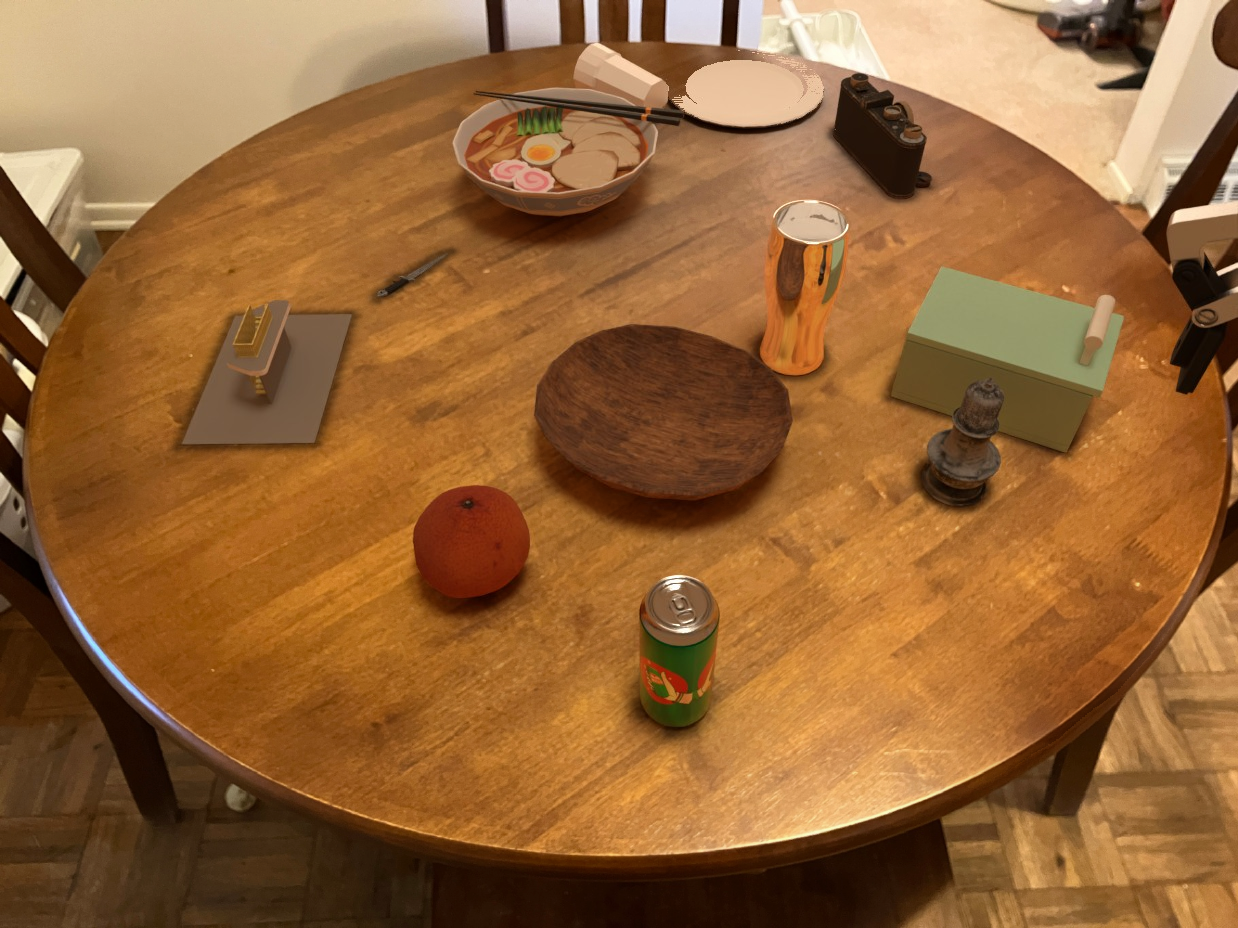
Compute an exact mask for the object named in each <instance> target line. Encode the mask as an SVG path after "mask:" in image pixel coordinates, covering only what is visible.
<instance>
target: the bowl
mask: <svg viewBox="0 0 1238 928" xmlns="http://www.w3.org/2000/svg"><path fill="white" fill-rule="evenodd" d="M789 393H790V392H789V389H788V388H787V386H786V385H785V384H784V383H783V381H782V380H781V378H780V377H779V376H778V374H776V372H775V371H774V370H772V369H771V368H770V367H769V366H767V365H766V364H765V363H764V362H763V361H762V360H761V359H759V358H757V356H755V355H753V354H752V353H750V352H749V351H748V350H745V349H744V348H740V347H738V346H737V345H735V344H731V343H729V342H727V341H724V340H722V339H719V338H717V337H715V336H712V335H708V334H705V333H701V332H697V331H694V330H690V329H685V328H682V327H679V326H671V325H655V324H641V323H640V324H639V323H629V324H625V325H621V326H616V327H611V328H607V329H601V330H598V331H597V332H595V333H593V334H592V333H591V334H590V335H588V336H586V337H584V338H581V339H580V340H577V341H575V342H574V343H572V344H571V345H570V346H569V347H568V348H567V349H565V351H563V352H562V353H561V354H559V356H558V357H556V358H555V359H554V360H553V361H552V362H551V363H550V365H548V368H547V369H546V370H545V372H544V374H543V375H542V377H541V379H540V380H539V382H538V383H537V384H536V389H535V400H534V401H535V402H534V412H533V416H534V419H535V420H536V422H537V424H538V426H539V428H540V429H541V431H542V433H543V435H544V438H545V439H546V441H548V442H549V444H550V445H552V446H553V447H554V448H555V449H556V451H557V452H558V453H560V455H562V457H564V459H565V460H566V461H568V462H569V463H570V464H571V465H572V467H574V468H575V470H577V471H580V472H582V473H583V474H586V475H587V476H589V477H591V478H593V479H594V480H596V481H598V482H600V483H602V484H604V485H605V486H608V487H609V488H611V489H615V490H617V491H618V490H619V491H622V492H626V493H630V494H634V495H637V496H640V497H644V498H651V499H667V500H683V501H698V500H702V499H706V498H709V497H713V496H717V495H721V494H725V493H728V492H732V491H735V490H737V489H738V488H740V487H741V486H743V485H745V484H747V482H749V481H751V480H752V479H753V478H755V477H756V476H758V475H760V474H761V473H762V472H763V471H765V469H766V468H767V467H768V466H769V464H770V463H772V461H773V460H774V459H775V458H776V456H778V455H779V453H780V452H781V451H782V450H783V449H784V446H785V443H786V441H787V438H788V436H789V433H790V430H791V428H792V424H793V421H794V419H793V413H792V408H791V399H790V394H789Z"/></svg>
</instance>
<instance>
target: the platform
mask: <svg viewBox="0 0 1238 928" xmlns="http://www.w3.org/2000/svg"><path fill="white" fill-rule="evenodd" d="M290 311H291V304H290V301H289V300H287V299H279V300H278V299H276V300H271V301H270V302H267V303H264V304H262V305H260V306H258V307H256V308H252V306H251V304H248V306H247V308H246V311H245V312H244V314H243V315H234V317H233V320H232V323H231V324H230V327H229V330H228V332H227V334H226V337H225V339H224V342H223V343H222V346H221V349H220V351H219V353H218V355H217V358H216V361H215V363H214V365H213V368H212V370H211V372H210V375H209V377H208V380H207V382H206V385H205V387H204V389H203V392H202V394H201V396H200V399H199V401H198V404H197V406H196V408H195V411H194V413H193V416H192V417H191V420H190V422H189V425H188V428H187V429H186V430H187V431H186V432H185V435H184V437H183V440H182V442H181V445H254V444H255V445H256V444H257V445H259V444H265V445H267V444H315V443H316V440H317V436H318V432H319V429H320V426H321V422H322V420H323V416H324V413H325V408H326V405H327V401H328V398H329V396H330V392H331V389H332V384H333V381H334V378H335V374H336V371H337V368H338V364H339V360H340V357H341V354H342V351H343V348H344V343H345V340H346V337H347V333H348V331H349V326H350V323H351V319H352V317H353V313H334V314H333V313H332V314H330V313H329V314H327V313H326V314H323V313H322V314H289V313H290Z"/></svg>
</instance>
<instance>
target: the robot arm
mask: <svg viewBox="0 0 1238 928" xmlns="http://www.w3.org/2000/svg"><path fill="white" fill-rule="evenodd" d="M1165 235H1166V242H1167V247H1168V254H1169V259H1170V260H1169V261H1170V263H1171V269H1172V273H1171V278H1172V281H1173V283H1174V284H1175V286H1176V288H1177V290H1178V291H1179V293H1180V294H1181V296H1182V297H1183V299H1184V301H1185V303H1186V304H1187V306H1188V308H1189V309H1190V311H1191V312H1192V313H1191V314H1190V316H1189V319H1188V321H1187V322H1186V324H1185V326H1184V328H1183V329H1182V331H1181V334H1180V336H1179V337H1178V339H1177V341H1176V343H1175V345H1174V348H1173V350H1172V352H1171V355H1170V360H1169V365H1172V366H1175V367H1178V368H1179V373H1178V378H1177V383H1176V387H1175V392H1176V393H1179V394H1182V395H1186V396H1187V395H1188V394H1194V392H1195V391H1196V389H1197V386H1198V385H1199V383H1200V381H1201V380H1202V378H1203V377H1204V375H1205V373H1206V372H1207V370H1208V368H1209V366H1210V365H1211V362H1213V359H1214V357H1215V356H1216V354H1217V353H1218V351H1219V349H1220V348H1221V345H1222V344H1223V342H1224V340H1225V338H1226V334H1227V328H1228V322H1229V321H1232V320H1234V319H1237V318H1238V262H1235V263H1234V264H1230V265H1229V266H1226V267H1224V268H1222V269H1219V270H1216V269H1215V267H1214V266H1213V264H1212V262H1211V261H1210V259H1209V257H1208V255H1207V254H1206V252H1205V249H1204V246H1205V245H1206V244H1209V243H1212V242H1221V241H1227V240H1235V239H1238V200H1233V201H1226V202H1219V203H1213V204H1207V205H1199V206H1193V207H1188V208H1186V207H1185V208H1180V209H1177V210H1175V211H1173V212H1172V213H1171V215H1170V216H1169V220H1168V223H1167V228H1166V234H1165Z"/></svg>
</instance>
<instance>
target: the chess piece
mask: <svg viewBox="0 0 1238 928" xmlns="http://www.w3.org/2000/svg"><path fill="white" fill-rule="evenodd" d="M1003 402H1004V393H1003V391H1002V390H1001V388H1000V387H999V386H998V385H996V384H995V383H994V381H993V379H992V378H988V379H986V380H980V381H976V382H974V383H972V384H970V385H969V386H968V388H967V390H966V392H965V395H964V398H963V401H962V404H961V407H959V408H957V409H956V410H955V411H954V413H953V415H952V416H951V421H952V424H953V425H952V428H948V429H947V428H946V429H942V430H940V431H938V432H937V433H935V434H933V436H932V437H931V438H930V439H929V441H928V442H927V445H926V455H927V458H928V464H927V465H926V466H925V467H924V469H923V470H922V473H921V483H922V486H923V488H924V490H925V492H927V494H928V495H929V496H930V497H932V498H933V499H934V500H936V501H938V502H939V503H941V504H945V505H948V506H951V507H957V508H959V507H969V506H972V505H975V504H977V503H979V502H980V501H981V500H982V499H983V497H984V496H985V494H986V491H987V481H989V479H990V478H992V477H994V476H995V475H996V474H997V472H998V471H999V470H1000V467H1001V464H1002V456H1001V453H1000V451H999V449H998V448H997V446H996V445H995V444H994V442H993V441H992V440H991V438H992V437H993V436H994V435H997V433H998V432H999V431H998V429H999V421H998V419H997V417H998V415H999V412H1000V410H1001V407H1002V404H1003Z"/></svg>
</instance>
